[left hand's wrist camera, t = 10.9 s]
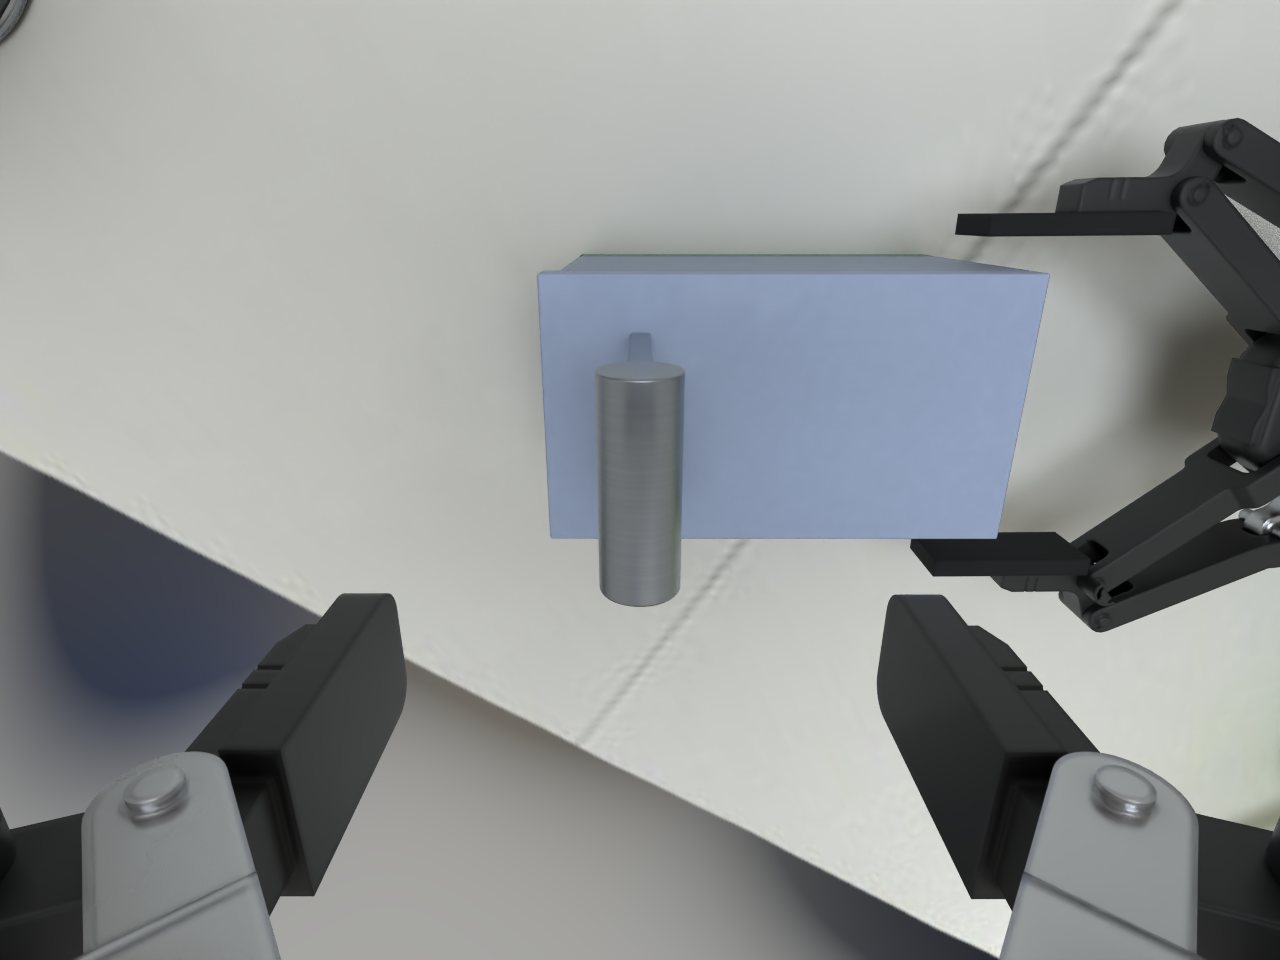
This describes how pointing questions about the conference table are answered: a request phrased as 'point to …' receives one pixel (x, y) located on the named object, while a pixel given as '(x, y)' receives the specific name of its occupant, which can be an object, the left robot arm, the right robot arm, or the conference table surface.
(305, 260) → the conference table surface
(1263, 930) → the left robot arm
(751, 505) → the lid
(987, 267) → the chest
